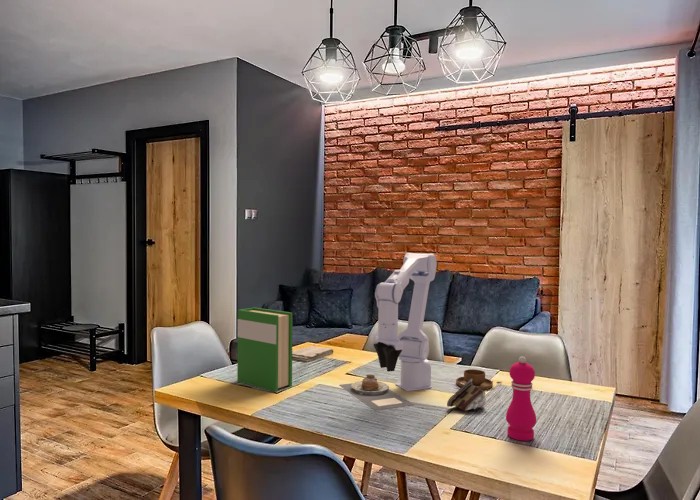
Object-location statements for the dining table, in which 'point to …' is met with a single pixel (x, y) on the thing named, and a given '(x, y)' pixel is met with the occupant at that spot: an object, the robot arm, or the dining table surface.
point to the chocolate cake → (468, 397)
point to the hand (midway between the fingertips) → (387, 369)
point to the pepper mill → (521, 402)
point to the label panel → (379, 399)
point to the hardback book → (265, 348)
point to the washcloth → (311, 353)
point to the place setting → (475, 379)
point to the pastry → (370, 386)
